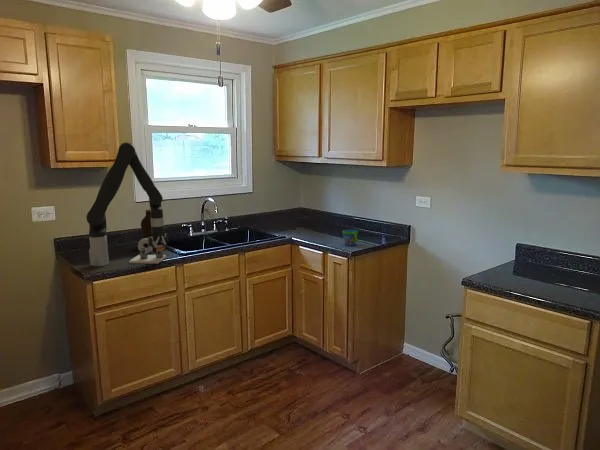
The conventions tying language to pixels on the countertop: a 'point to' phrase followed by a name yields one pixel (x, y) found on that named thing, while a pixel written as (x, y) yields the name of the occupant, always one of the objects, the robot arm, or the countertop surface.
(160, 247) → the ring
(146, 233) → the olive oil
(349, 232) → the snack cup
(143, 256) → the stand rod
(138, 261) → the board
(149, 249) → the donut
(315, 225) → the countertop surface
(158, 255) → the hub post
